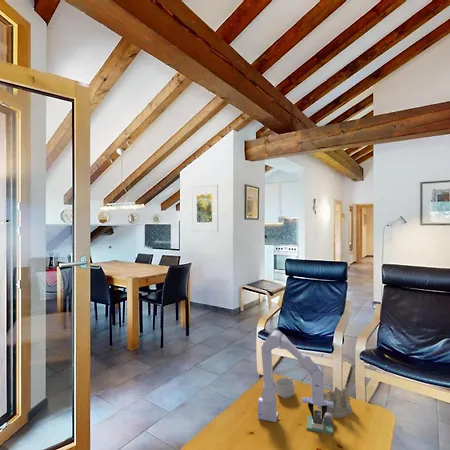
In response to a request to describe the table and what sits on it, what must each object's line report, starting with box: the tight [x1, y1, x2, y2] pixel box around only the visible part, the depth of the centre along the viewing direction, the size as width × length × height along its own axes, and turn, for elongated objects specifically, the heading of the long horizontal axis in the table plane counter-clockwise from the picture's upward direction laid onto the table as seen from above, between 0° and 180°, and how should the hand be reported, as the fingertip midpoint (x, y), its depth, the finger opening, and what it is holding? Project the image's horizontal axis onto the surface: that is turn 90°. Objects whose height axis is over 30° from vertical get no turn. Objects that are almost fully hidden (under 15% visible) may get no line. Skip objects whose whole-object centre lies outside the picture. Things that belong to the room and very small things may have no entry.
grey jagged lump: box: [316, 386, 353, 419], centre depth 168 cm, size 16×16×15 cm
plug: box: [314, 408, 322, 424], centre depth 153 cm, size 3×4×7 cm
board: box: [306, 413, 334, 435], centre depth 154 cm, size 12×10×4 cm
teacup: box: [275, 376, 295, 399], centre depth 182 cm, size 14×11×8 cm
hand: (317, 419), depth 153 cm, fingers open, 4 cm apart
